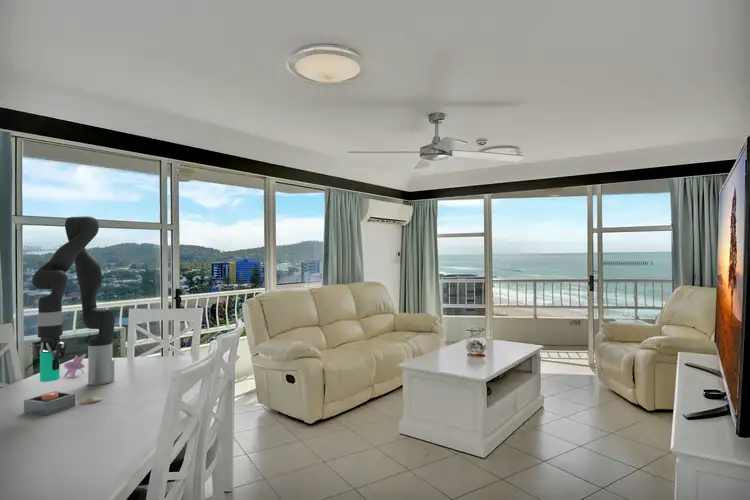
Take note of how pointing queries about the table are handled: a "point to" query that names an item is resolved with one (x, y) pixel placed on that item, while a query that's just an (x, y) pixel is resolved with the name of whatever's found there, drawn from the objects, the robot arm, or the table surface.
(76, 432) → the table surface
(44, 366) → the candle
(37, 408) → the gray open box
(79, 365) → the lily
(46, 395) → the orange egg shape
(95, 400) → the coaster
